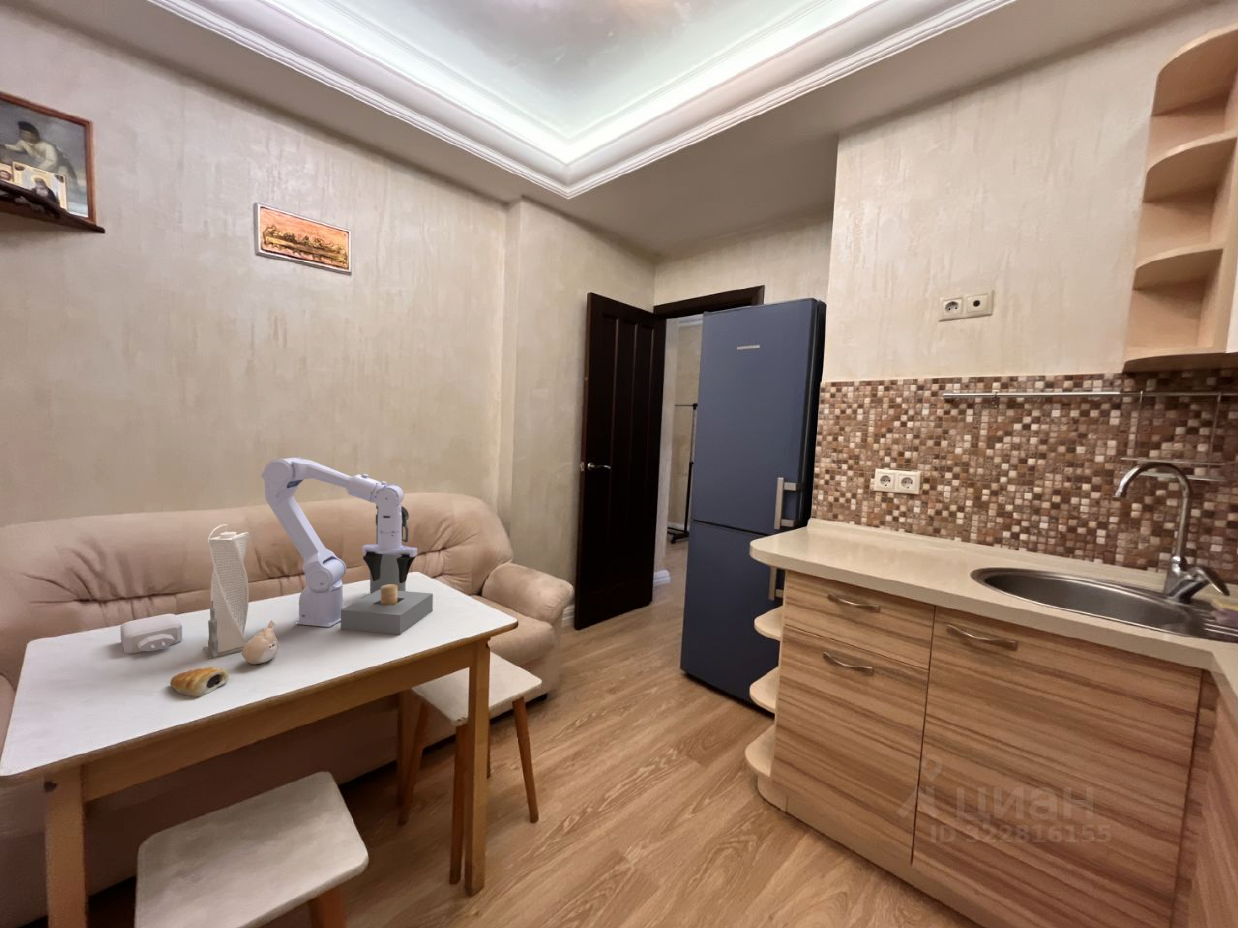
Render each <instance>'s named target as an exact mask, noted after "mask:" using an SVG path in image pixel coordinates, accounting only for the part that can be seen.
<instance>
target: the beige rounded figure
mask: <svg viewBox="0 0 1238 928" xmlns="http://www.w3.org/2000/svg"><path fill="white" fill-rule="evenodd" d="M274 626H276V623H275V622H274V621H273V620H272V619H271V620H270V621H269V623H268V625H267V627H266V628H264V629H262V631H260V632H258V633H256V634H255V636H254V637H252V638H251V639H249V640H248V641H247V642H246V644H245V645H244V647H243V650H242V652H241V655H242V658H243V659H244V660H245V661H246V662H247V663H249V664H251V665H258V664H264V663H266V662H269V661H271V660H272V659H273V658H274V657H275V655H277V653H278V650H279V647H280V646H279V640H278V638H276V634H275V632H274V630H273V628H274Z"/></svg>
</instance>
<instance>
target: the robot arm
mask: <svg viewBox="0 0 1238 928" xmlns="http://www.w3.org/2000/svg"><path fill="white" fill-rule="evenodd" d="M261 478H262V480H263V481H264V494H265V495H264V497H265V498H264V499H265V501H266V503H267V504H268V505H269V507H270V509H271V510H272V512H273V514H274V515H275V517H276V519H277V520H278V522H279V523H280V525H281V526H282V528H283V529H284V531H285V533H286V534H287V535H288V537H289V539H290V540H291V542H292V544H293V545H294V547H295V548H296V549H297V551H298V553H299V554H300V556H301V558H302V561H303V562H302V571H303V573H304V575H305V583H306V585H307V586H306V587H304V588H303V590H301V592H300V594H299V599H298V621H296V625H304V626H312V627H313V626H315V627H324V628H326V627H327V628H330V627H333V626H335V625H337V624H338V623H341V609H343V608H344V607H343V606H344V605H343V601H344V598H343V592H344V591H343V590H344V589H343V586H344V585H343V581H342V578H343V577H344V576H345V574H346V573H347V566H346V563H345V562H344V561H343V560H342V559H340V558H339V557H337V556H336V554H335V553H334V552H333V551H332V550H331V549H328V548H326V547H325V545H324V543H323V542H322V540H321V539H320V537H319V536H318V534H317V532H316V531H315V529H314V528H313V526H312V524H311V523H310V521H309V520H308V518H307V517H306V514H305V513H304V511H303V510H302V509H301V507H300V505H299V504H298V502H297V501H296V499H295V497H294V496H295V494H296V491H297V489H298V487H299V486H300V484H301V483H302V482H304V480H309V479H314V480H317V481H321V482H325V483H328V484H330V485H334V486H338V487H339V488H344V489H345V491H347V494H348V495H349V496H352V497H355V498H358V499H361V500H364V501H367V502H370V503H372V504H374V503H375V506H376V505H377V506H378V545H376V544H365V545H361V549H362V551H361V553H362V554H365V555H363V557H362V560H363V561H364V562H365V563H366V566H367V567H368V569H369V572H371V576H372V579H373V581H376V580H378V579H380V572H381V560H382V555H383V554H390V555H402V557H399V558H397V559H396V560H397V563H398V568H399V582H400V583H403V582H405V581H406V582H407V578H408V576H409V572H410V569H411V566H412V564H413V562H414V561H415V559H416V556H418V548H417V547H412V546H406V545H404V546H402V544H403V543H402V513H401V506H402V502H403V501H404V499H405V492H404V490H403V488H401V487H400V486H398V485H397V484H393V483H392V484H387V481H379V480H376V479H373V478H371V477H370V475H369V474H366V473H363V474H359V473H358V474H356V475H355V474H354V475H353V476H351V475H349V474H346V473H343V472H340V471H338V470H336V469H333V468H331V467H328V466H326V465H324V464H321V463H318V462H316V461H313V460H310V459H304V458H302V457H299V456H293V457H289V458H275V459H272V460H270V461H269V462H267V464H266V466H265V467H264V468H263V471H262V473H261ZM397 505H398V506H397Z"/></svg>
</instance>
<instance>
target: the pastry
mask: <svg viewBox="0 0 1238 928" xmlns="http://www.w3.org/2000/svg"><path fill="white" fill-rule="evenodd" d="M229 678H230V673H229V672H228V671H227V670H225V669H223V668H217V667H213V666H207V667H200V668H194V669H190V670H187V671H184V672H180V673H178V674H176V675H174V676H172V678H171V679H170V682H169V684H170V687H172V688H173V689H175V691H176V692H177V693H178V694H182V695H185V696H188V697H192V698H199V697H203V696H205V695H208V694H210V693H212V692H213V691H215V690H216V689H218V688H220V687H222V686H223V685H225V684H226V683H227V682H228V681H229Z"/></svg>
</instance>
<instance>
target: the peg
mask: <svg viewBox="0 0 1238 928" xmlns="http://www.w3.org/2000/svg"><path fill="white" fill-rule="evenodd" d="M395 604H397V585H395V584H389V585H384V586H382V587H381V605H389V606H394V605H395Z"/></svg>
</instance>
